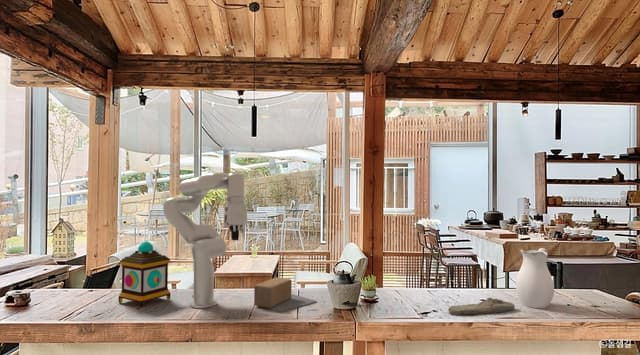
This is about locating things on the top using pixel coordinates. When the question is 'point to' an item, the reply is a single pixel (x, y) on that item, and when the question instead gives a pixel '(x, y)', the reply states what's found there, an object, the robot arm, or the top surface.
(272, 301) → the wooden block
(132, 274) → the decorative lantern
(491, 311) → the long grey stone
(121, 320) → the top surface
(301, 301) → the mat
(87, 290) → the top surface
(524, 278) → the pitcher
